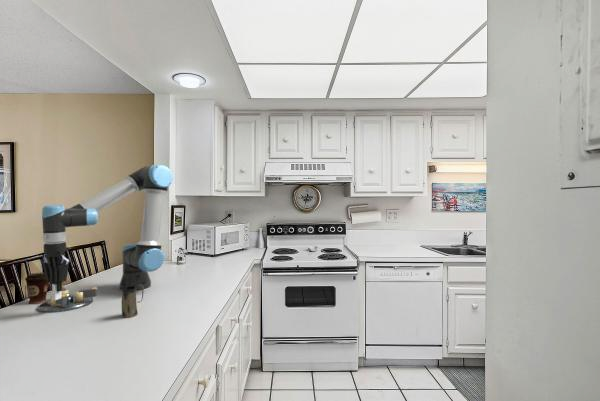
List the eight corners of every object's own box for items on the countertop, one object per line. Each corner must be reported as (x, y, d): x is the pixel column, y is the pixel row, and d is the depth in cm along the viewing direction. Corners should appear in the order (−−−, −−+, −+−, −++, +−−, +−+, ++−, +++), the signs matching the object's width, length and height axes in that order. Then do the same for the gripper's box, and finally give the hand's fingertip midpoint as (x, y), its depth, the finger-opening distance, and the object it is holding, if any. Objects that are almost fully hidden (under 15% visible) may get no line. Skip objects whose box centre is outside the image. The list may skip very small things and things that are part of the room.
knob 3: (73, 302, 144) (73, 290, 144) (76, 299, 148) (76, 288, 148) (95, 300, 147) (94, 288, 147) (97, 298, 150) (97, 286, 150)
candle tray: (98, 296, 158) (98, 285, 158) (84, 309, 139) (84, 297, 139) (50, 300, 152) (50, 289, 152) (28, 314, 133) (28, 302, 133)
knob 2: (69, 299, 149) (69, 287, 149) (60, 301, 146) (59, 289, 146) (65, 295, 155) (65, 284, 154) (56, 297, 152) (55, 286, 152)
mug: (119, 318, 128) (119, 288, 128) (124, 313, 133) (123, 284, 133) (141, 316, 130) (141, 286, 129) (145, 311, 135) (144, 283, 135)
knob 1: (48, 306, 140) (48, 293, 140) (58, 303, 143) (58, 291, 143) (60, 308, 136) (60, 296, 136) (69, 306, 139) (69, 294, 139)
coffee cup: (35, 305, 144) (34, 276, 144) (20, 304, 146) (19, 275, 146) (53, 299, 153) (53, 272, 153) (39, 298, 154) (38, 271, 154)
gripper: (33, 243, 133) (35, 301, 133) (59, 244, 130) (61, 302, 130) (51, 241, 140) (53, 295, 141) (75, 241, 137) (78, 296, 138)
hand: (57, 298), depth 136 cm, fingers closed
